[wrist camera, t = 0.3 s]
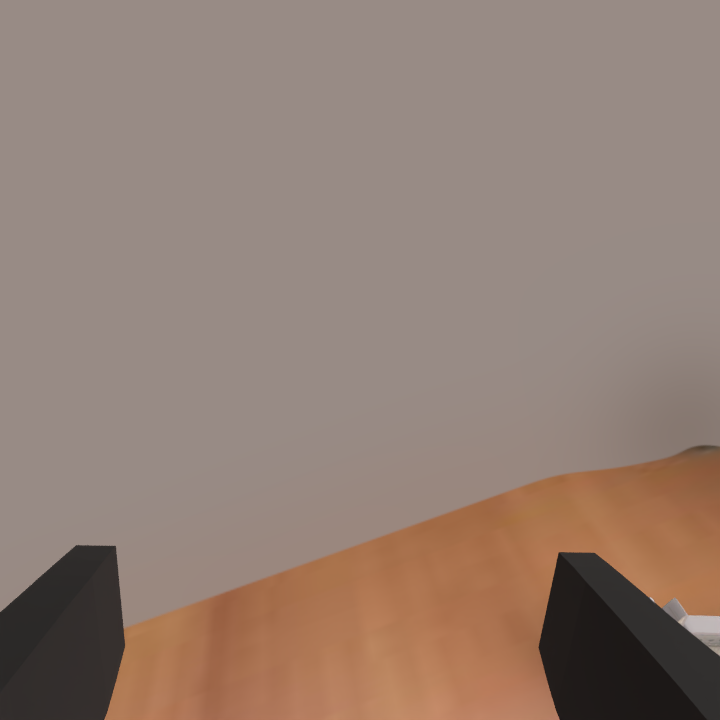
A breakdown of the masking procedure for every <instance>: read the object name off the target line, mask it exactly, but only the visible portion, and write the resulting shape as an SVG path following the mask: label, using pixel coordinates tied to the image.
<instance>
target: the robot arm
mask: <svg viewBox="0 0 720 720" xmlns="http://www.w3.org/2000/svg"><path fill="white" fill-rule="evenodd" d="M121 609H122V608H121V599H120V587H119V576H118V565H117V555H116V546H80V545H78V546H77V545H76V546H75V547H74V548H73V549H72V550H70V551H69V552H68V553H67V554H66V555H65V556H63V557H62V558H61V559H60V560H59V561H58V562H57V563H55V564H54V565H53V566H52V567H51V568H50V569H49V570H47V571H46V572H45V573H44V574H43V575H42V576H41V577H40V578H38V579H37V580H36V581H35V582H34V583H33V584H32V585H31V586H29V587H28V588H27V589H26V590H25V591H24V592H23V593H22V594H21V595H19V596H18V597H17V598H16V599H15V600H14V601H13V602H12V603H10V604H9V605H8V606H7V607H6V608H5V609H4V610H2V611H1V612H0V720H104V719H105V716H106V714H107V711H108V707H109V704H110V700H111V697H112V693H113V690H114V686H115V682H116V679H117V675H118V671H119V667H120V663H121V659H122V656H123V652H124V648H125V640H124V630H123V619H122V610H121ZM539 650H540V654H541V658H542V662H543V666H544V669H545V673H546V677H547V681H548V684H549V688H550V691H551V695H552V698H553V701H554V705H555V708H556V711H557V714H558V716H559V719H560V720H720V656H719V655H718V654H717V653H715V652H714V651H713V650H712V649H710V648H709V647H708V646H707V645H705V644H704V643H703V642H702V641H700V640H699V639H698V638H697V637H695V636H694V635H693V634H692V633H691V632H689V631H688V630H687V629H686V628H684V627H683V626H682V625H681V624H680V623H678V622H677V621H676V620H675V619H674V618H672V617H671V616H670V615H669V614H668V613H666V612H665V611H664V610H663V609H662V608H660V607H659V606H658V605H657V604H656V603H655V602H653V601H652V600H651V599H650V598H649V597H647V596H646V595H645V594H644V593H643V592H642V591H640V590H639V589H638V588H637V587H636V586H634V585H633V584H632V583H631V582H630V581H628V580H627V579H626V578H625V577H624V576H623V575H621V574H620V573H619V572H618V571H617V570H615V569H614V568H613V567H612V566H610V565H609V564H608V563H607V562H605V561H604V560H603V559H602V558H600V557H599V556H598V555H596V554H595V553H565V552H559V554H558V558H557V563H556V568H555V573H554V577H553V582H552V587H551V591H550V596H549V601H548V605H547V610H546V615H545V620H544V624H543V629H542V634H541V638H540V643H539Z"/></svg>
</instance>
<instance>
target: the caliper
mask: <svg viewBox="0 0 720 720" xmlns="http://www.w3.org/2000/svg"><path fill="white" fill-rule="evenodd" d="M649 598H650V597H649ZM650 599H651V600H652V601H653V602H654V600H653V599H652V598H650ZM662 609H663V610H664V611H665V612H666V613H668V614H669V615H670V616H671V617H672V618H674V619H675V620H676V621H677V622H678V623H680V624H681V625H682V626H683V627H684V628H686V629H687V630H688V631H689V632H691V633H692V634H693V635H694V636H695V637H697V638H698V639H699V640H700V641H702V642H703V643H704V644H705V645H707V646H708V647H709V648H710V649H712V650H713V651H714V652H715V653H717V654H718V655H719V656H720V616H692V615H688V614H687V613H686V612H685V610H684V609H683V607H682V606H681V605H680V603H679V602H678V600H677V599H676V598H674V599H672V600H671V601H670V602H668V603H667V604H666V605H665V606H664V607H663V608H662Z"/></svg>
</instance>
